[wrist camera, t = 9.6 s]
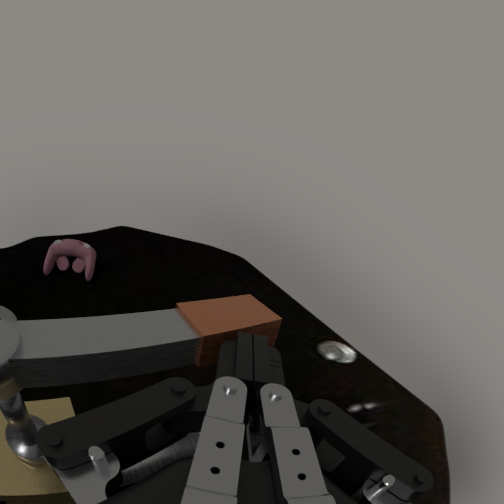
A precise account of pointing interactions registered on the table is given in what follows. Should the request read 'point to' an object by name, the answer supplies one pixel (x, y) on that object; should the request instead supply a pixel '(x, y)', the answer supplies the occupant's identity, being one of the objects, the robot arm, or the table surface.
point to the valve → (34, 465)
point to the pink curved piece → (71, 248)
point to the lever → (124, 342)
